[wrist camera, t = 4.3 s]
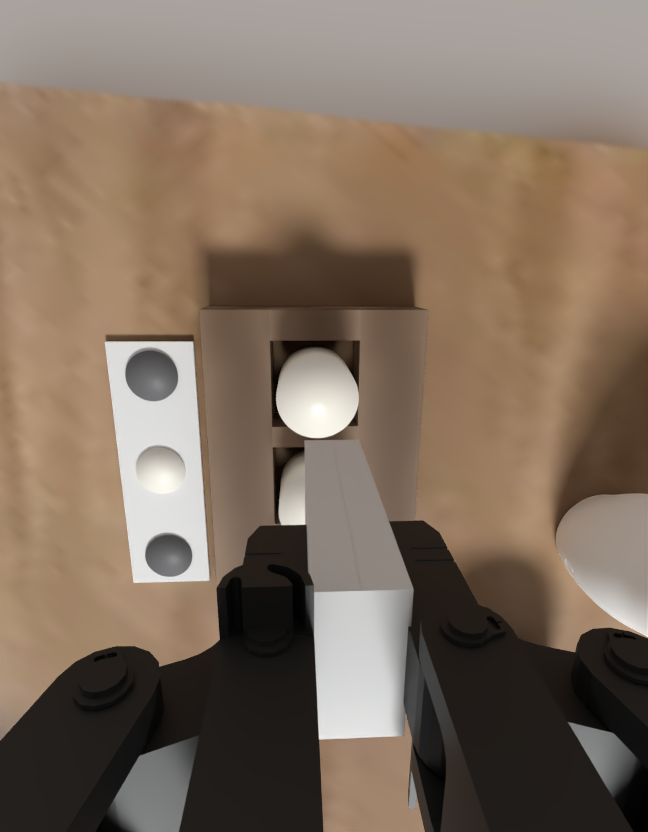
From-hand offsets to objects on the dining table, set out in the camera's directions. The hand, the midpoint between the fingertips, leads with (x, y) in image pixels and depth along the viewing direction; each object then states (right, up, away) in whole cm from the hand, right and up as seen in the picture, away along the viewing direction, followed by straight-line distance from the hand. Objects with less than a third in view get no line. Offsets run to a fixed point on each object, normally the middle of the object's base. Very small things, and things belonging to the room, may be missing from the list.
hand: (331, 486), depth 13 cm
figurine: (+19, -6, +20) cm, 28 cm away
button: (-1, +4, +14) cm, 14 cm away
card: (-10, -1, +17) cm, 20 cm away
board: (-1, -1, +17) cm, 18 cm away
